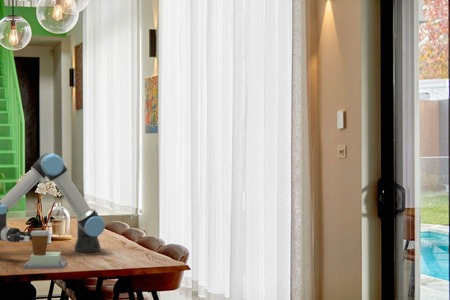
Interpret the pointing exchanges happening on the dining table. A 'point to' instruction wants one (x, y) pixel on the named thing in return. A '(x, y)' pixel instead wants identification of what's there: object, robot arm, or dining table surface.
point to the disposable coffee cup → (39, 241)
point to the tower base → (61, 265)
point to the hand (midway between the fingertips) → (39, 237)
